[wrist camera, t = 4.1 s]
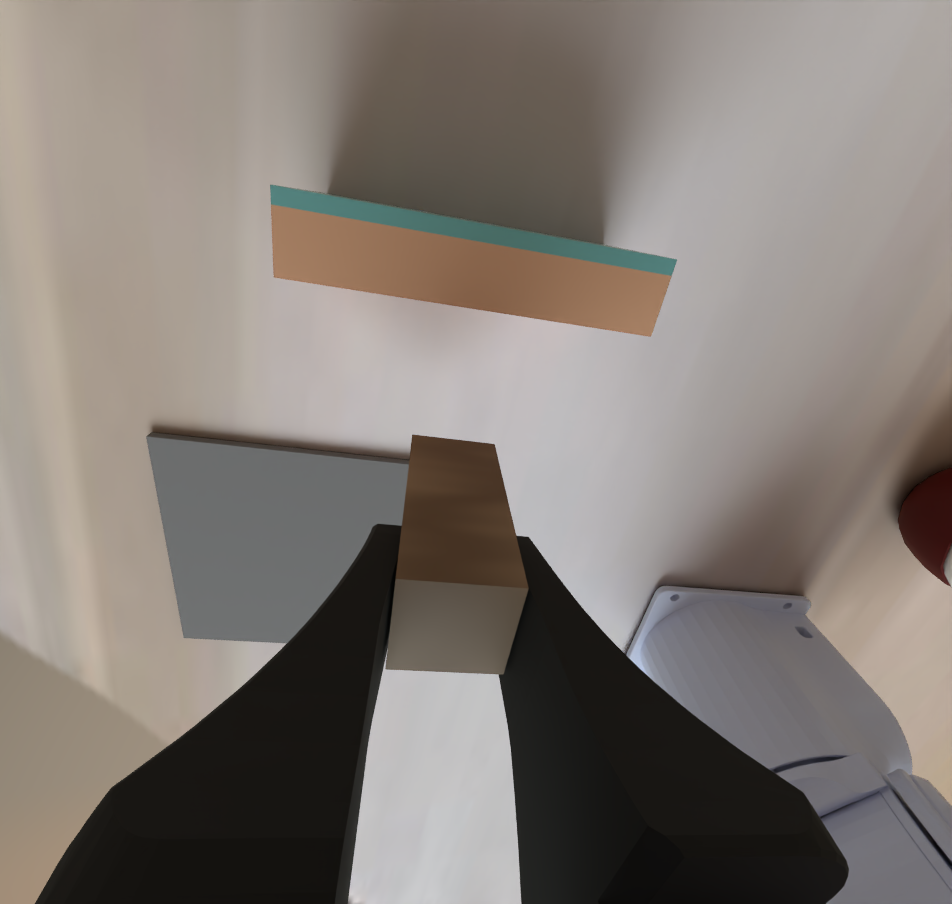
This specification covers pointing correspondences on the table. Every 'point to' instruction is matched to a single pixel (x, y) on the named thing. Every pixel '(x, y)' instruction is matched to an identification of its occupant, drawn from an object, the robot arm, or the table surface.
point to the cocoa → (930, 524)
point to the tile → (464, 262)
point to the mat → (265, 529)
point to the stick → (455, 563)
